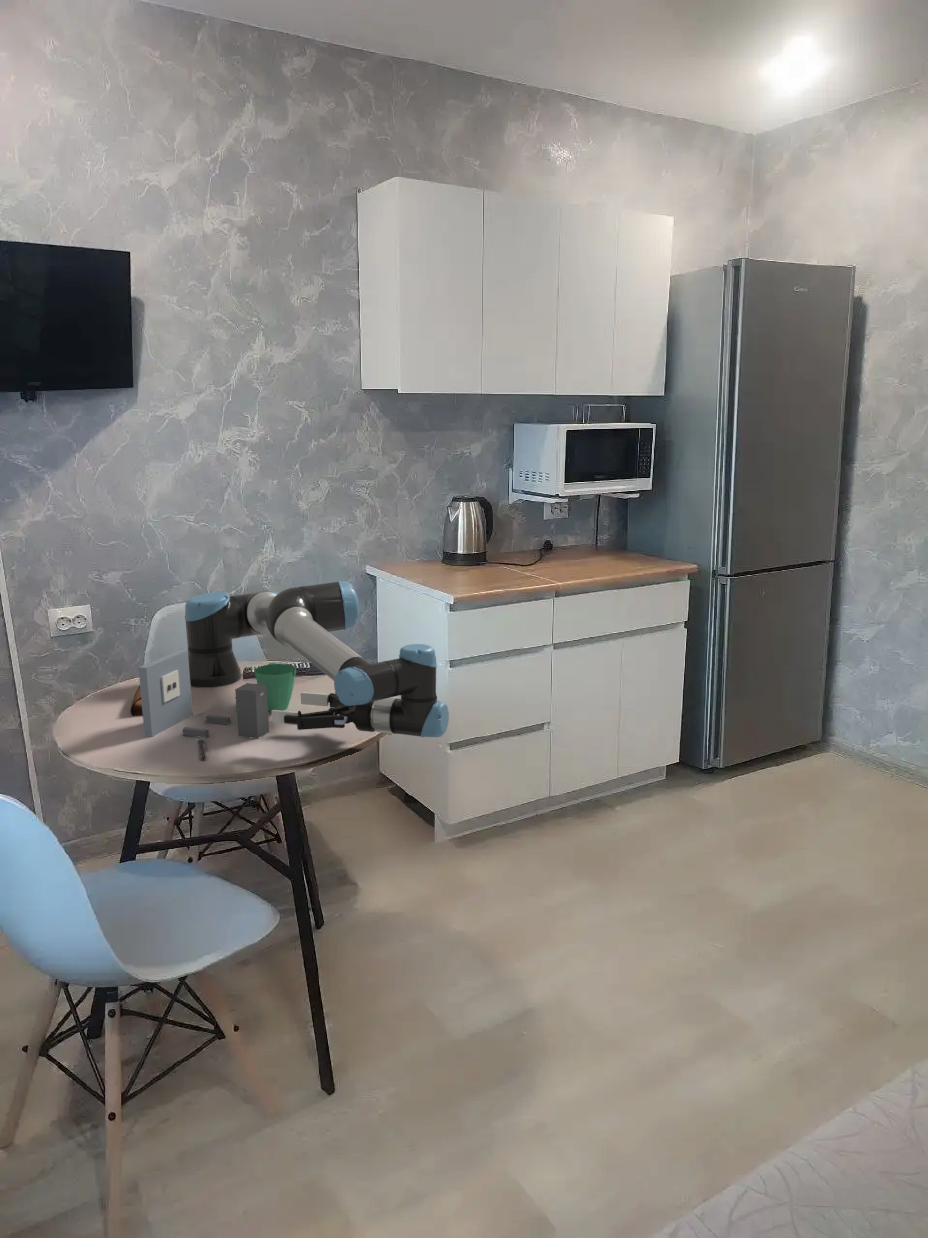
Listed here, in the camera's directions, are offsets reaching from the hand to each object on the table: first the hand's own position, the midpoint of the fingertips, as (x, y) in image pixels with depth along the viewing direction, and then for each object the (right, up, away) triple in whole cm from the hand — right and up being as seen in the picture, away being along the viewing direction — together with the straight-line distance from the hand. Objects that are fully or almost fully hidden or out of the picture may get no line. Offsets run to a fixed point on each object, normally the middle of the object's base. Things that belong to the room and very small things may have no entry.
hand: (287, 706), depth 201 cm
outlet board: (-24, -6, +9) cm, 26 cm away
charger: (-8, -6, +4) cm, 11 cm away
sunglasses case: (-39, -2, +26) cm, 47 cm away
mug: (-7, -2, +24) cm, 25 cm away
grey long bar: (-17, -9, -7) cm, 20 cm away
